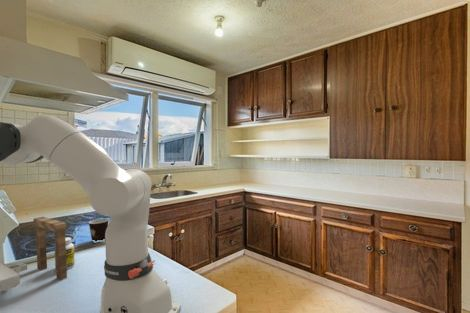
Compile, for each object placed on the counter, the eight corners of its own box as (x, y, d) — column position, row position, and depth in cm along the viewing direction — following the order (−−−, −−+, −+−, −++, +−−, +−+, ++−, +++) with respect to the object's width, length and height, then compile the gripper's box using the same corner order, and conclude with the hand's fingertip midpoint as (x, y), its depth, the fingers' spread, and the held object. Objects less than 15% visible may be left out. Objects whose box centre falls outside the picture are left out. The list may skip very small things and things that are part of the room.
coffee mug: (87, 241, 126) (86, 221, 126) (106, 236, 132) (105, 217, 132) (93, 247, 117) (92, 226, 117) (113, 242, 123) (112, 222, 123)
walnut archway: (68, 277, 90) (66, 222, 89) (59, 280, 87) (56, 225, 87) (44, 265, 99) (42, 216, 99) (35, 269, 97) (33, 218, 96)
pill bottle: (65, 272, 94) (64, 242, 94) (51, 270, 95) (49, 241, 95) (78, 264, 100) (77, 236, 100) (65, 263, 101) (64, 236, 101)
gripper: (-21, 283, 70) (38, 263, 81) (-42, 266, 80) (13, 251, 92) (-20, 306, 70) (39, 282, 82) (-41, 286, 80) (14, 268, 92)
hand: (25, 265), depth 87 cm, fingers closed
